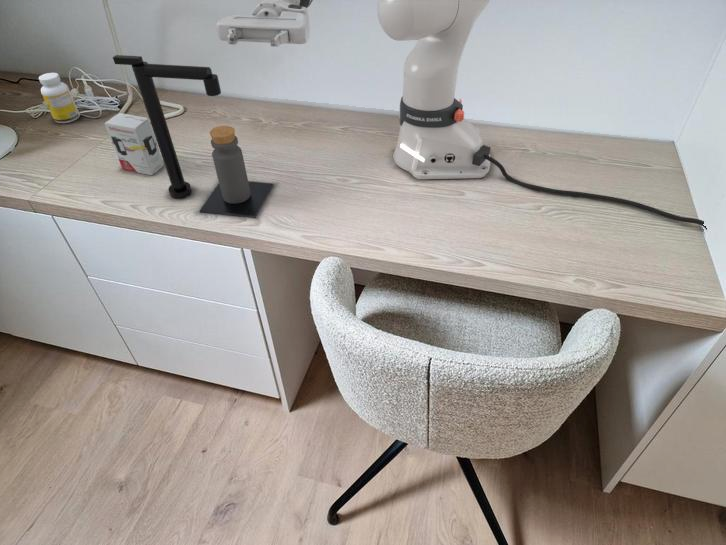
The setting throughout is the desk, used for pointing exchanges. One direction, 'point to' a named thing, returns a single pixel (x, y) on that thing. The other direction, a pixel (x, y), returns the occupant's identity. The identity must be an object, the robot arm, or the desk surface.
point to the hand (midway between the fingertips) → (252, 41)
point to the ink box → (134, 143)
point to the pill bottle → (58, 98)
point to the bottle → (229, 165)
